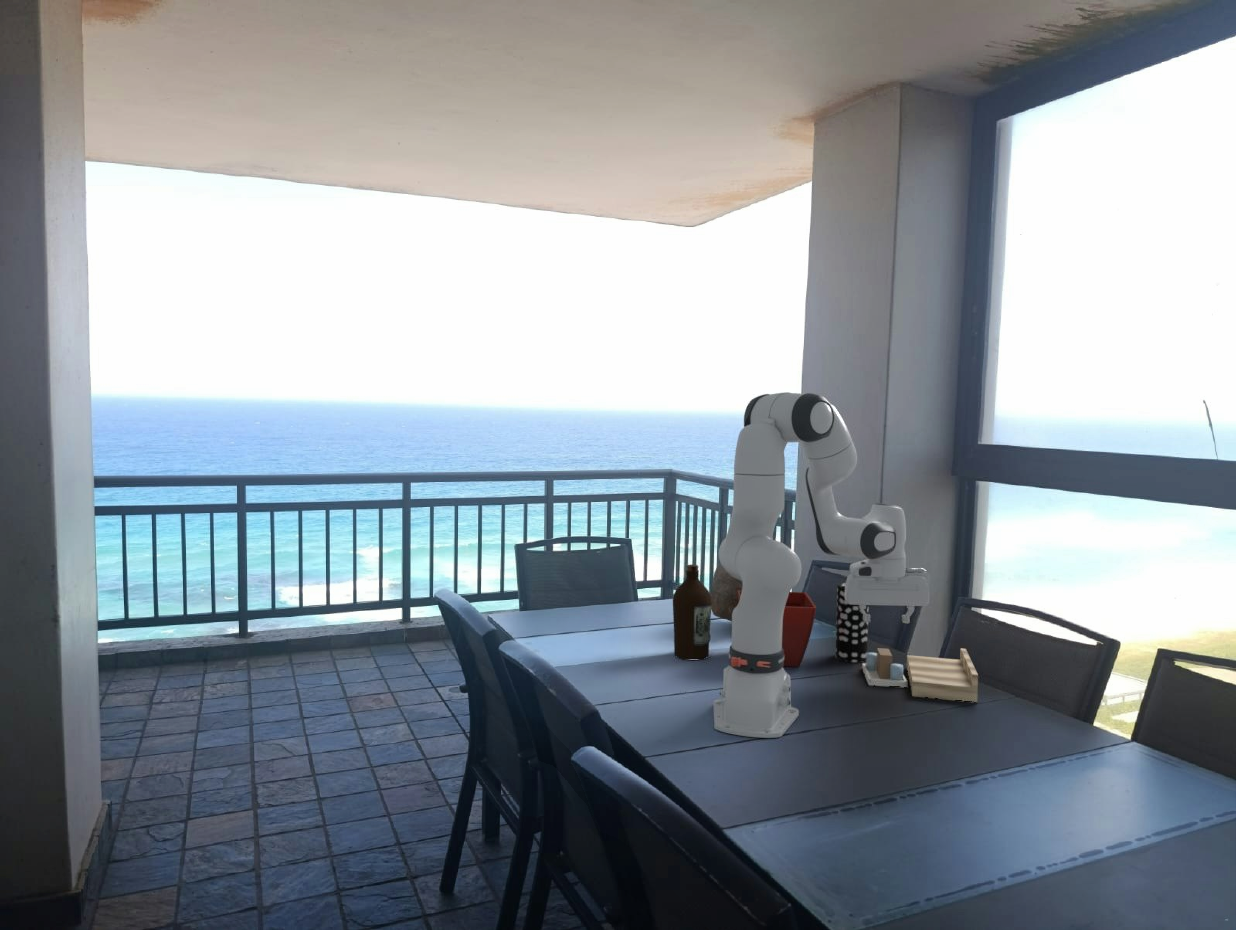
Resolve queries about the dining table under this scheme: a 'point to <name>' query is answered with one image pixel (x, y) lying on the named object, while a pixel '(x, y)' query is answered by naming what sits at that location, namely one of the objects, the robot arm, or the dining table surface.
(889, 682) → the caddy tray
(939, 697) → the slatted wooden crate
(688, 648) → the olive oil
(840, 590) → the white-spotted black cylinder
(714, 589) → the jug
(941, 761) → the dining table surface
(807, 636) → the plant pot
